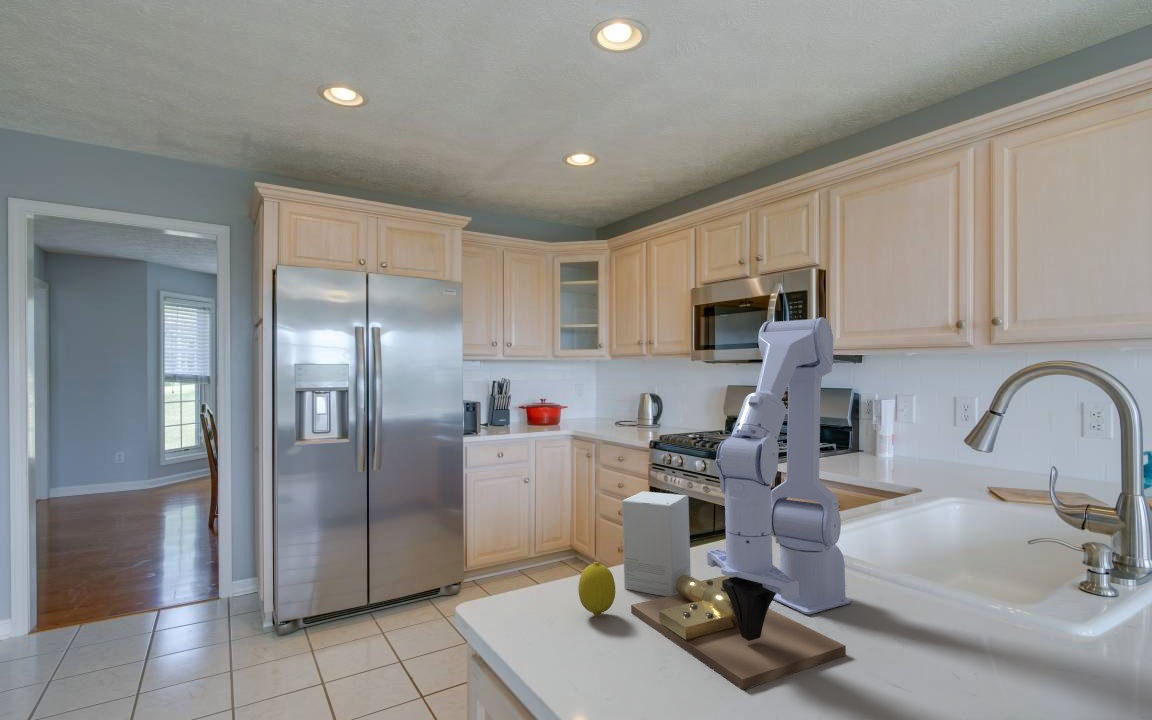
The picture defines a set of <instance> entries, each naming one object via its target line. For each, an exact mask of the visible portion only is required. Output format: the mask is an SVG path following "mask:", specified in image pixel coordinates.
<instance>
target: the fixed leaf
mask: <svg viewBox="0 0 1152 720" xmlns="http://www.w3.org/2000/svg"><path fill="white" fill-rule="evenodd" d="M725 579H729V577H728V576H726V575H722V576H717V577H713V578H709V579H704V580H700V579H697V578H695V577H693V576H692V575H691V576H689V575H687V574H684V575H681V576H680V577H679V578H678V579H677V581H676V590H677V592H678V593H677V594H680V595H682V596H683V597H685V598H687V599H689V600H691V601H692V602H698V601H702V595H703V593H704V591H705V590H706V589H708V588H710V587H713V588H715V589H717V590H719V591H721V592H723V593H725V594H727V593H726V591H725V589H724V588H723V586H722V581H723V580H725Z"/></svg>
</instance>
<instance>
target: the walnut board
mask: <svg viewBox="0 0 1152 720" xmlns="http://www.w3.org/2000/svg"><path fill="white" fill-rule="evenodd" d="M689 603H694V602H692V601H691V600H689V599H687V598H685V597H683V596H682V595H680V594H679V593H677V594H676V595H672V596H668V597H666V596H662V597H660V598H656V599H651V600H647V601H642V602H638V603H634V604H631V605H630V608H631V609H630V610H631V611H630V613H631V614H632V615H633V616H635V617H637V618H638V619H640V620H641V621H642V622H644V623H645V624H647V625H648V626H649V627H651V628H652V629H654V630H656V631H657V632H658V633H659V634H661V635H662V636H664V637H665V638H667V639H669V641H671V642H672V643H674V644H676V645H677V646H679V647H680V648H681V649H682V650H683V651H686V652H687V653H689V655H691V656H693V657H694V658H695V659H697V660H698V661H700V662H701V663H703V664H705V665H706V666H707V667H708V668H710V669H711V670H713V669H714V670H713V671H715V672H716V671H717V672H718V674H719V675H720V674H721V675H720V676H721V677H723V678H724V679H726V680H727V679H728V680H727V681H729V682H731V683H732V684H733V685H735V686H736V687H737V688H739V689H740V690H742V691H743V690H744V691H745V690H748V689H750V688H753V687H756V686H759V685H762V684H765V683H768V682H770V681H773V680H777V679H780V678H782V677H786V676H789V675H792V674H794V673H797V672H801V671H803V670H806V669H809V668H812V667H815V666H817V665H821V664H824V663H827V662H830V661H833V660H836V659H839V658H842V657H845V656H847V649H846V648H847V647H846V644H843V643H841V642H839V641H837V640H835V639H833V638H831V637H829V636H827V635H824V634H822V633H820V632H818V631H816V630H814V629H812V628H811V627H807V626H805V625H804V624H801V623H800V622H797V621H795V620H793V619H792V618H789V617H787V616H785V615H783V614H781V613H779V612H777V611H775V610H773V609H770V607H769V608H768V610H767V613H766V616H765V620H764V623H763V628H762V632H761V636H760V638H758V639H754V640H751V641H748V640H746V639H745V638H743V637H742V636H741V633H740V629H739V625H738V626H736V625H734V624H733V627H731V628H727V629H724V630H720V631H716V632H713V633H709V634H705V635H702V636H698V637H694V638H691V639H687V640H685V639H684V638H682V637H681V636H679V635H678V634H676V633H675V632H673V631H672V630H670V629H669V628H667V627H666V626H664V625H663V624H661V623H660V622H659V611H660V610H664V609H668V608H673V607H677V606H681V605H685V604H689ZM717 672H716V673H717ZM785 675H786V676H785Z"/></svg>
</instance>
